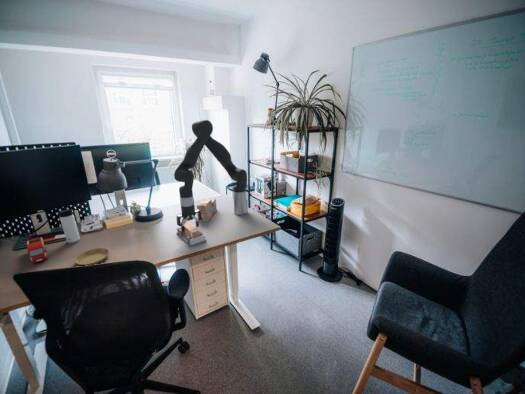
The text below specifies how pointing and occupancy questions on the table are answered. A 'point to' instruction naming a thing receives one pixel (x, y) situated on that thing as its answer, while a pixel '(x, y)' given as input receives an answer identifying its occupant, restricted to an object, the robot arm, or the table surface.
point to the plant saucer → (92, 256)
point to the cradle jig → (188, 240)
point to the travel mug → (69, 226)
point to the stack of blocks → (207, 209)
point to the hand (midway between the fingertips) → (190, 229)
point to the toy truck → (36, 250)
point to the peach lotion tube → (191, 230)
